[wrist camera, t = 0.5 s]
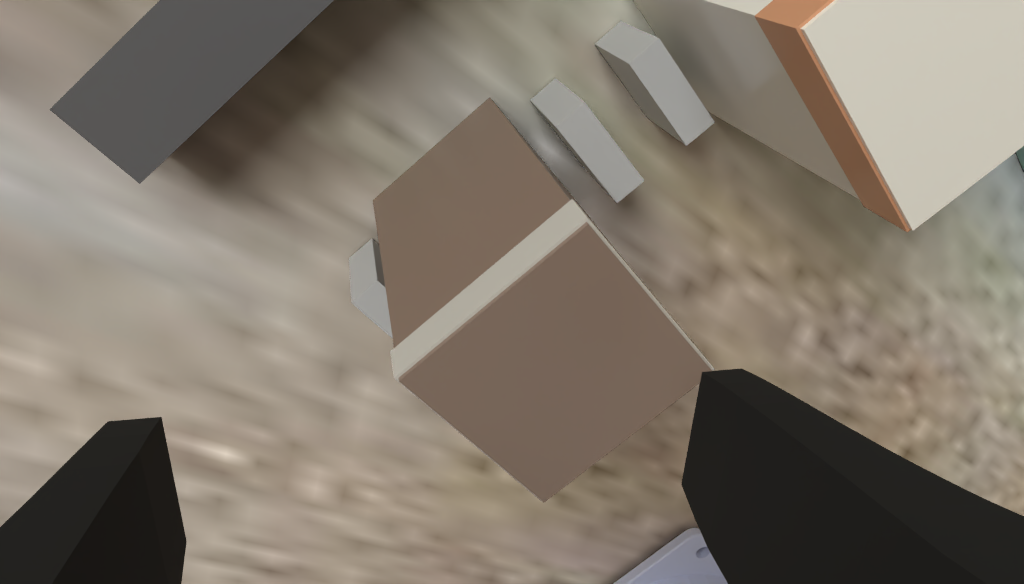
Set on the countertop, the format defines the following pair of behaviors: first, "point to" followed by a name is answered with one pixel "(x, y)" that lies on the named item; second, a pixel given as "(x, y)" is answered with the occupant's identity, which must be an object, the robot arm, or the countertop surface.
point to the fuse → (521, 309)
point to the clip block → (263, 34)
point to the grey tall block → (862, 88)
